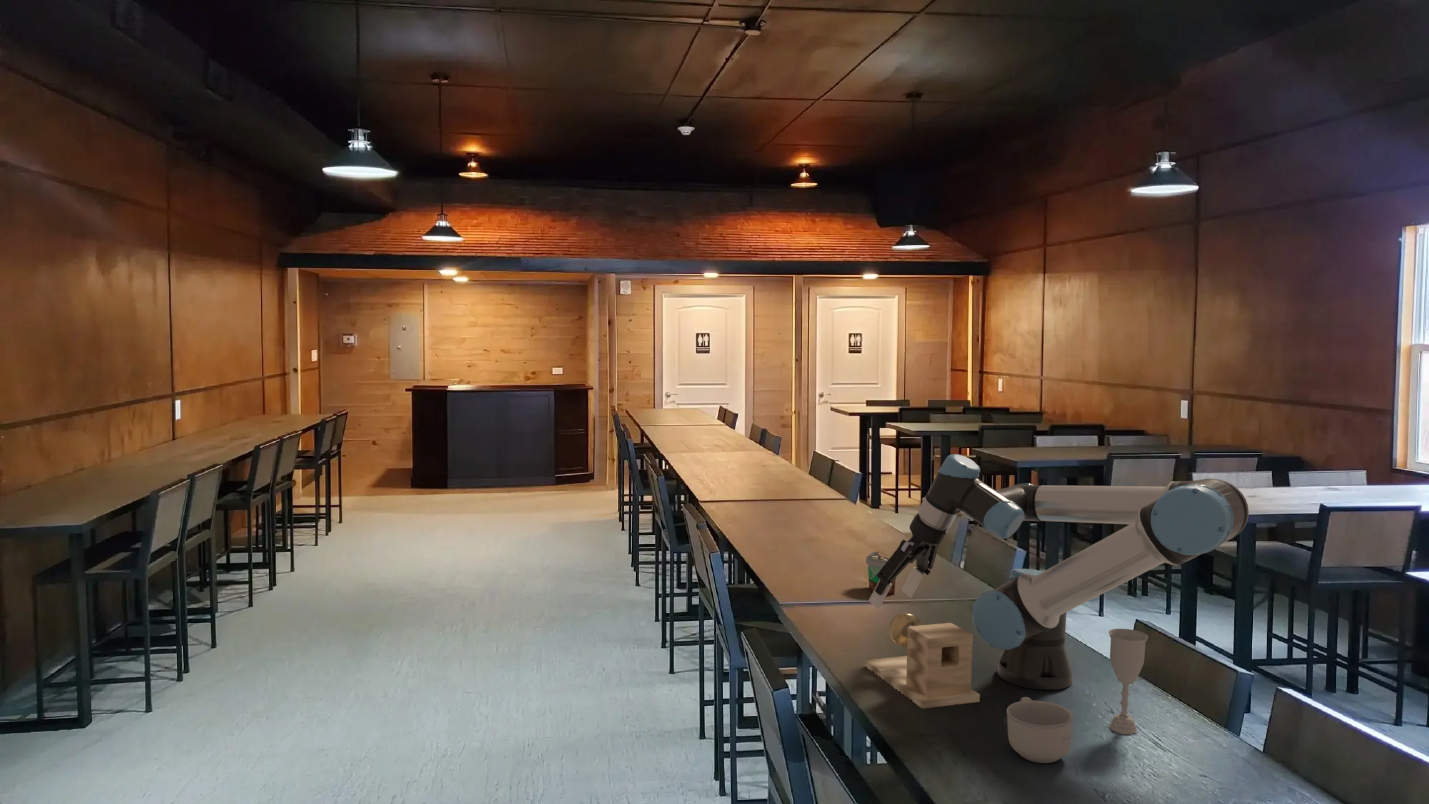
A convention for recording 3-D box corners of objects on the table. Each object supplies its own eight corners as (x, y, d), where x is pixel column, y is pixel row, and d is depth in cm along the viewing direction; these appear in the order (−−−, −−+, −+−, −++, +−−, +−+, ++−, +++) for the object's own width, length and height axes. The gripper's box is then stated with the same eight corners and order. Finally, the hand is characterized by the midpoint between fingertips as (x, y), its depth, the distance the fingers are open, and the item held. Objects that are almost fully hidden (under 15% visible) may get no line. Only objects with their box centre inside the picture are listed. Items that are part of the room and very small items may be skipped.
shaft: (888, 645, 201) (889, 613, 201) (916, 642, 203) (917, 611, 203) (917, 664, 190) (918, 630, 189) (947, 661, 192) (948, 627, 192)
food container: (857, 586, 272) (858, 552, 271) (876, 584, 274) (877, 551, 273) (877, 597, 260) (878, 562, 259) (896, 596, 262) (898, 561, 261)
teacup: (1075, 773, 156) (1077, 726, 156) (1008, 765, 159) (1010, 720, 158) (1062, 738, 170) (1064, 695, 169) (1000, 732, 172) (1001, 689, 172)
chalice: (1110, 717, 180) (1115, 626, 178) (1148, 727, 175) (1153, 633, 174) (1098, 729, 174) (1103, 635, 173) (1137, 740, 170) (1142, 643, 168)
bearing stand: (865, 666, 205) (867, 606, 204) (917, 661, 209) (919, 602, 208) (922, 708, 182) (924, 641, 181) (979, 701, 186) (982, 635, 185)
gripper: (946, 504, 212) (906, 579, 219) (888, 517, 193) (846, 598, 201) (973, 524, 207) (931, 599, 215) (916, 538, 189) (872, 620, 196)
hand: (890, 599), depth 208 cm, fingers open, 13 cm apart
